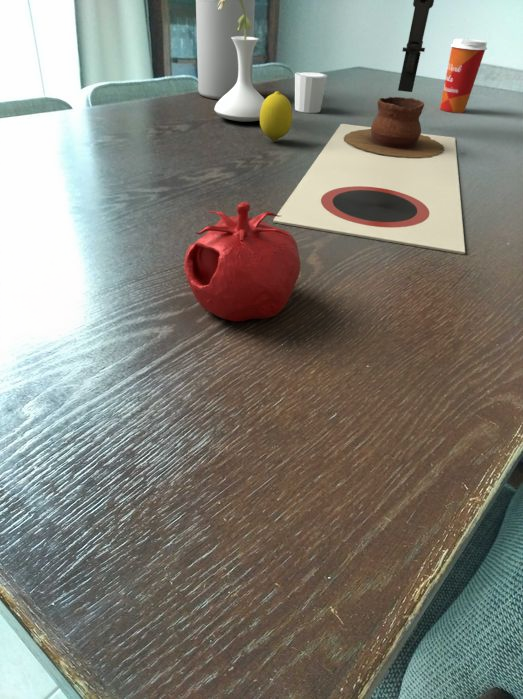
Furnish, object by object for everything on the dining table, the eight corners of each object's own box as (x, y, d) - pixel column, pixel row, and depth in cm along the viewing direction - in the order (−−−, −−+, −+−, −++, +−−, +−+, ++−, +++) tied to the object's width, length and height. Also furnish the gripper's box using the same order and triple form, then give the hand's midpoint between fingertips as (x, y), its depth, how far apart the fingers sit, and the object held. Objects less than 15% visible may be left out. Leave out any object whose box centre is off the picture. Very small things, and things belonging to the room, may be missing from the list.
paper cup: (432, 105, 119) (448, 37, 111) (463, 107, 119) (482, 39, 111) (439, 112, 113) (458, 41, 104) (473, 114, 113) (494, 43, 104)
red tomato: (295, 277, 48) (305, 182, 43) (297, 337, 40) (310, 230, 35) (194, 270, 48) (191, 175, 43) (177, 329, 40) (170, 221, 35)
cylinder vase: (233, 103, 109) (235, -40, 94) (187, 95, 114) (182, -43, 99) (261, 95, 118) (267, -37, 103) (217, 87, 123) (217, -40, 107)
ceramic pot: (405, 165, 79) (416, 117, 74) (323, 138, 89) (328, 95, 84) (463, 147, 89) (475, 104, 84) (383, 125, 99) (390, 86, 94)
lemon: (256, 144, 85) (258, 92, 80) (261, 136, 89) (263, 86, 84) (288, 147, 84) (292, 95, 79) (291, 139, 89) (295, 89, 84)
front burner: (430, 197, 68) (430, 195, 68) (427, 237, 58) (428, 235, 57) (330, 182, 71) (330, 180, 71) (310, 218, 60) (310, 216, 60)
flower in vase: (227, 110, 104) (228, -41, 89) (278, 117, 101) (289, -38, 86) (201, 123, 94) (197, -44, 79) (257, 131, 91) (264, -40, 76)
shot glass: (285, 108, 108) (288, 72, 104) (305, 105, 112) (309, 70, 108) (309, 115, 104) (313, 77, 100) (329, 111, 108) (334, 75, 104)
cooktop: (454, 139, 94) (455, 137, 94) (464, 254, 54) (465, 252, 54) (341, 125, 99) (341, 123, 98) (272, 222, 59) (272, 220, 58)
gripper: (416, -66, 87) (388, 83, 102) (413, -72, 77) (382, 94, 92) (460, -64, 86) (425, 87, 100) (462, -70, 76) (423, 99, 90)
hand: (405, 90), depth 96 cm, fingers closed
